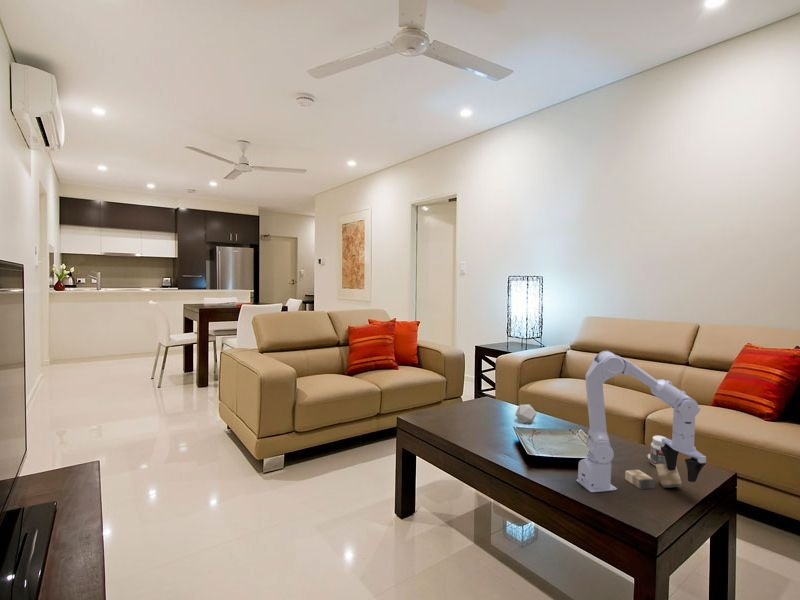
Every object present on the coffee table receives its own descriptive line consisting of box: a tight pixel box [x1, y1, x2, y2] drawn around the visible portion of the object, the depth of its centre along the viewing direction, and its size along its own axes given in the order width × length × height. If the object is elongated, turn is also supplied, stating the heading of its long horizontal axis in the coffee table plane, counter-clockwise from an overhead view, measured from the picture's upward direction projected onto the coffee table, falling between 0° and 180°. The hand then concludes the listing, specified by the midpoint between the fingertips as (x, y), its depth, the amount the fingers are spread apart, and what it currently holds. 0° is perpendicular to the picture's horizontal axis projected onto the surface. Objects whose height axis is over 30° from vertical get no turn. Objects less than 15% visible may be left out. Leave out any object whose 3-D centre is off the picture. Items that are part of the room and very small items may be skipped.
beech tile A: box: [624, 469, 655, 490], centre depth 137 cm, size 5×3×7 cm
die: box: [514, 404, 538, 424], centre depth 195 cm, size 8×9×10 cm
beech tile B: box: [654, 464, 683, 488], centre depth 135 cm, size 5×3×7 cm, turn 100°
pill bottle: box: [649, 435, 667, 467], centre depth 150 cm, size 6×6×10 cm
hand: (681, 475), depth 130 cm, fingers open, 7 cm apart
